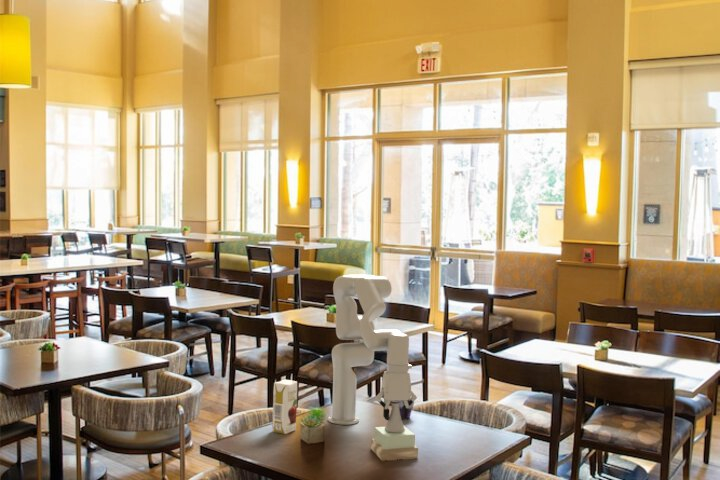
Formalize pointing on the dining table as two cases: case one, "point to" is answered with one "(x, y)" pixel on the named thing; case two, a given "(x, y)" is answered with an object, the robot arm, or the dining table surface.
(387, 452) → the birch base block
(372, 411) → the dining table surface
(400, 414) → the potion bottle
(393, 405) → the flask
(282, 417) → the juice carton
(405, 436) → the sage top block
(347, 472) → the dining table surface
